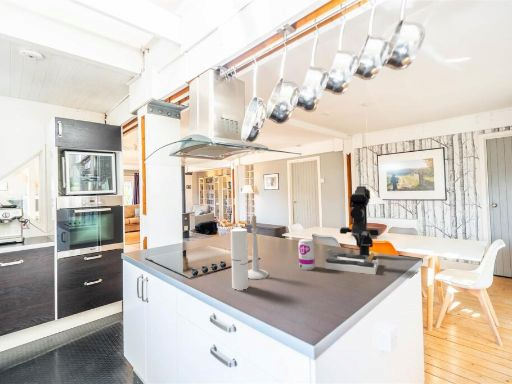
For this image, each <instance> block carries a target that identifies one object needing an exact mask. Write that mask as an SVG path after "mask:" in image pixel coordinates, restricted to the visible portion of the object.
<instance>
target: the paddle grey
mask: <svg viewBox="0 0 512 384" xmlns="http://www.w3.org/2000/svg"><path fill="white" fill-rule="evenodd" d="M326 253H327V255H328V257H329V256H330V257H335V256H334V252H333V250H332V248H328V249H327V250H326Z"/></svg>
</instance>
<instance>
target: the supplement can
mask: <svg viewBox="0 0 512 384" xmlns="http://www.w3.org/2000/svg"><path fill="white" fill-rule="evenodd" d="M315 261H316V259H315V242H314V239H311V238H301V239H299V241H298V265H299V268H300V270H305V271H312V270H314V269H315V268H316V265H315V264H316V262H315Z"/></svg>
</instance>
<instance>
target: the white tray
mask: <svg viewBox="0 0 512 384" xmlns="http://www.w3.org/2000/svg"><path fill="white" fill-rule="evenodd" d="M334 256H335V257H330V256H329V255H328V258H327V259H337V260H352V261H360V262H367V263H373V264H374V267H366V266H358V265H351V264H337V263H328V262H326V261H325V262H324V263H325V264H324V267H325V268H324V269H326V270H333V271H334V270H336V271H342V272H351V273H360V274H366V275H367V274H368V275H376V273H377V271H378V268H379V259H378V258H377V259H376V260H372V259H371V260H367V259H368V257H365V259H356V258H347V257H339V256H337V254H334Z"/></svg>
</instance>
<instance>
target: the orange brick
mask: <svg viewBox="0 0 512 384" xmlns="http://www.w3.org/2000/svg"><path fill="white" fill-rule="evenodd" d="M369 254H370V256H369V257H368V259H367V260H371V259H372V258H373V256H375V252H370V253H369Z"/></svg>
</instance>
